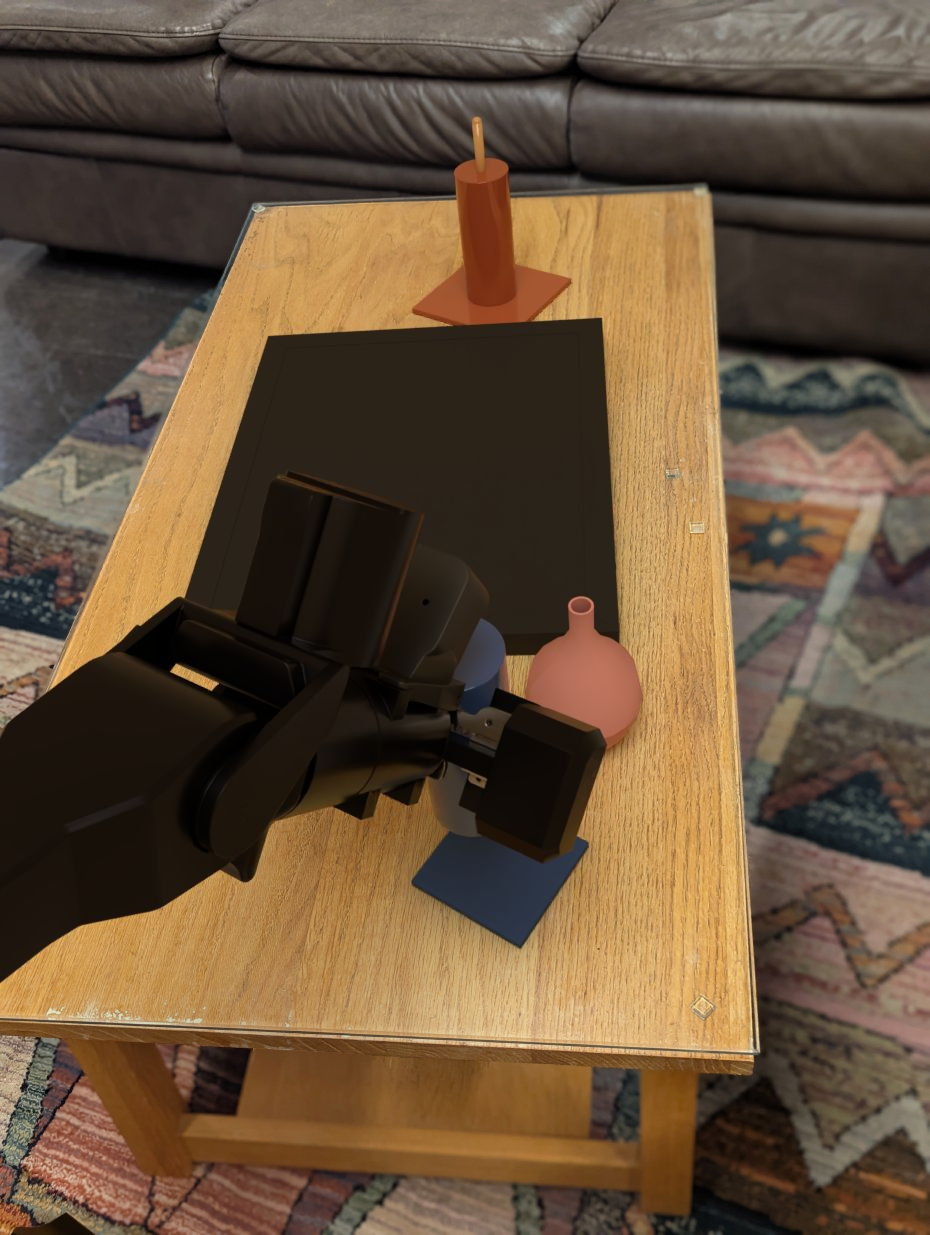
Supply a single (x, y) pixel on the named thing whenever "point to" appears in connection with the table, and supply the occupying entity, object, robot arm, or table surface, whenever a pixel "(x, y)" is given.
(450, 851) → the blue mat
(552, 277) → the terracotta tile
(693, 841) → the table surface
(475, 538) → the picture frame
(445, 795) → the blue cylinder
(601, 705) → the terracotta bud vase
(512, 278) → the terracotta candle
